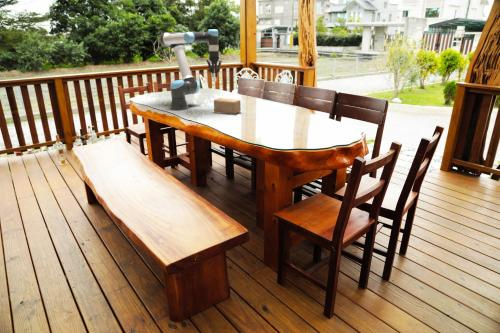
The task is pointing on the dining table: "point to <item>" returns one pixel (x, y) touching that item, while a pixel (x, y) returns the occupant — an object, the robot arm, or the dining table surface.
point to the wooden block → (227, 105)
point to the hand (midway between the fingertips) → (215, 81)
